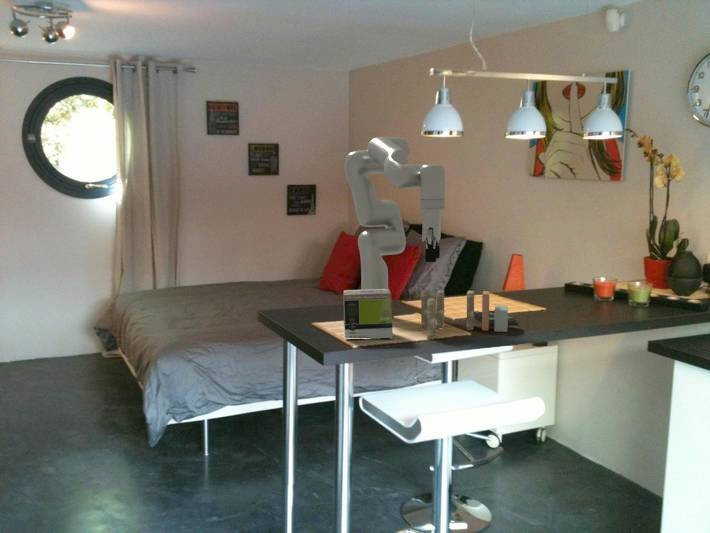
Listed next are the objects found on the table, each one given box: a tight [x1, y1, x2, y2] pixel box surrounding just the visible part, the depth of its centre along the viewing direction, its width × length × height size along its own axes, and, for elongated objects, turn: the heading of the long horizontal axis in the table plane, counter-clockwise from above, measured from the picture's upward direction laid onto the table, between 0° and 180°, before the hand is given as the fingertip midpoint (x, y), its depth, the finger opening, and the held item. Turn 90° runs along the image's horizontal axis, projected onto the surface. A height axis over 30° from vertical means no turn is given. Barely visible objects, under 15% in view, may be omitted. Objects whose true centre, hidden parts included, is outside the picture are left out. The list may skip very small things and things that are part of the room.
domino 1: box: [420, 289, 431, 329], centre depth 241 cm, size 2×6×12 cm, turn 167°
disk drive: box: [474, 309, 516, 327], centre depth 249 cm, size 10×3×15 cm
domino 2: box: [426, 297, 437, 340], centre depth 226 cm, size 2×6×12 cm, turn 167°
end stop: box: [494, 305, 509, 333], centre depth 236 cm, size 4×8×7 cm, turn 167°
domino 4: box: [466, 290, 475, 331], centre depth 238 cm, size 2×6×12 cm, turn 167°
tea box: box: [342, 288, 394, 340], centre depth 227 cm, size 15×10×15 cm
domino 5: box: [481, 290, 490, 331], centre depth 237 cm, size 2×6×12 cm, turn 167°
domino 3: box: [435, 289, 445, 328], centre depth 240 cm, size 2×6×12 cm, turn 167°
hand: (432, 259), depth 223 cm, fingers open, 9 cm apart
